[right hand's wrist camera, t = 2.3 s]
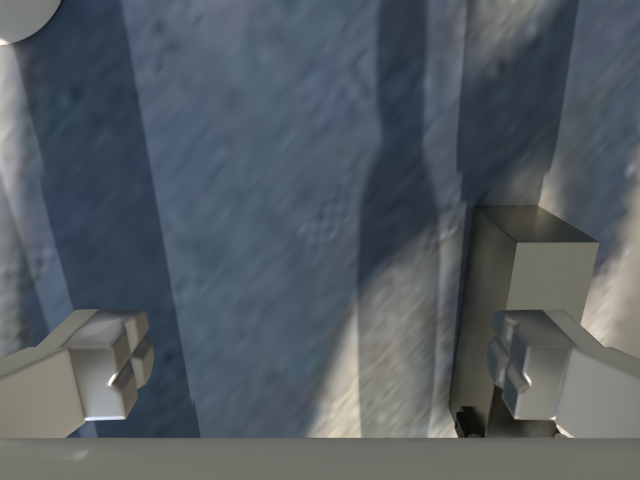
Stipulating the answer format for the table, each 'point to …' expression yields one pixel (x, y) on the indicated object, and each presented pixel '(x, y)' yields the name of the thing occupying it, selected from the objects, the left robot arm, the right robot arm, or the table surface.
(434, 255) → the table surface
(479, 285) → the box
